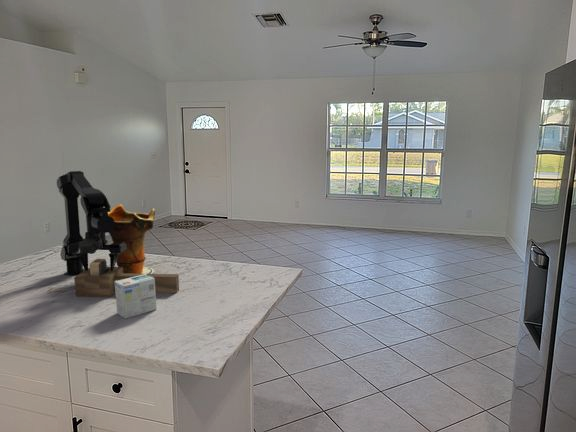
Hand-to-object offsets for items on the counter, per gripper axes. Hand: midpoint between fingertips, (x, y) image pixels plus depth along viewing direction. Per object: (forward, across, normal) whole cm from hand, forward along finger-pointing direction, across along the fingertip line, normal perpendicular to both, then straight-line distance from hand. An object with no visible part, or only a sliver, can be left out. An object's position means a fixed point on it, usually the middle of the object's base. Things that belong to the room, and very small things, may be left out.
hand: (99, 270), depth 152 cm
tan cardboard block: (+4, 0, 0) cm, 5 cm away
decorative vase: (+8, +3, +20) cm, 22 cm away
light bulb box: (+8, +20, -18) cm, 28 cm away
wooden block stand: (+7, +11, 0) cm, 13 cm away
